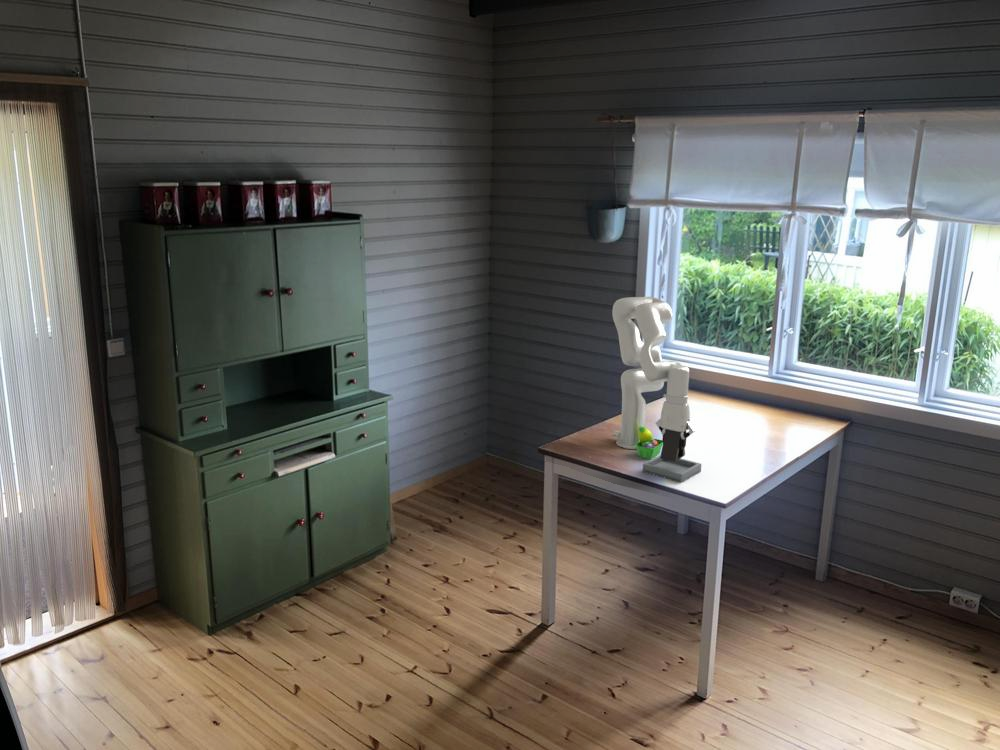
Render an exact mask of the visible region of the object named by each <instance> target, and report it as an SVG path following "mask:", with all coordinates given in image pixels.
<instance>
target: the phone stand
mask: <svg viewBox="0 0 1000 750" xmlns="http://www.w3.org/2000/svg"><path fill="white" fill-rule="evenodd" d="M680 439H681V432H676V431H672V430H668V429H665V436H664V441H663V444H662V447H661V450H660V455H661V456H660V455H659V456H660V458H661V459H666V460H670V461H675V462H676V461H677V460H679V459H680V458H681V459H683V457H685V456H686V450H685V448H683V449H679V447H680Z"/></svg>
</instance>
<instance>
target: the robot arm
mask: <svg viewBox="0 0 1000 750" xmlns="http://www.w3.org/2000/svg"><path fill="white" fill-rule="evenodd" d="M672 318H673V310H672V307H671V306H670V305H669V303H668V302H666V301H664V300H662V299H659V298H656V297H654V296H637V297H636V296H635V297H634V296H632V297H622V298H619V299H617V300H616V301H615V302H614V303H613V306H612V320H613V322H614V326H615V328H616V331H617V335H618V341H619V348H620V357H621V360H622V363H623V364H624V365H626V366H629V367H633V366H641V367H640V368H630V369H627V370H625V371H623V373H622V374H621V376H620V387H621V396H622V397H621V398H622V399H621V420H620V430H617V429H614V430H613V432H612V436H613V437H617V439H616V442H615V443H616V445H617V446H618V447H620V448H622V447H623V449H627V450H637V447H636V444H638V443H639V442H640V440H639V438H638V434H639V433H638V430H639V428H640V427H641V426H644V427H645V425H646V409H647V408H646V407H647V403H646V400H645V398H644V397H643V395H642V393H648V392H657V391H660V390H662V389H663V387H664V385H665V382H666V393H664V394H663V398H665V400H664V401H663V403H662V408H661V412H660V418H659V419H658V420H657V421H656V422H655V425H656V426H657V427H658V429H659V431H660V432H661V433H660V434H661V435H662V439H661V440H662V442H663V441H664V436H665V429H668V430H672V431H676V432H681V439H680V447H679V449H683V448H685V447H686V445H687V438H688V437H690V436H691V435H693V433H695V432H696V430H695V428H694V427H693V425H692V424H691V413H690V405H689V403H688V395H689V381H690V369H689V367H688V366H686V365H682V363H681V362H680V361H678V360H663V359H662V352H661V349H660V346H659V345H661V344H662V343H664V341H666V339H667V333H666V331H665V328H664V326H663V324H669V323H670V322H671V320H672ZM632 319H633V320H634V319H635V320H636V323H637V325H638V326H637V325H636V323H635V322H634V321H633V320H632ZM641 336H642V339H643V341H642V339H641ZM687 430H688V432H687Z"/></svg>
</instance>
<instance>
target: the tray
mask: <svg viewBox="0 0 1000 750" xmlns="http://www.w3.org/2000/svg"><path fill="white" fill-rule="evenodd" d="M660 456H661V454H660V455H658V456H655V457H653V458H652V459H649V461H646V462H644V463H643V464H642V472H643V471H644V472H643V473H646V472H647V473H646V474H649V473H651V474H650V475H653V474H655V475H654V476H656V475H658V476H657V477H660V476H661V478H663V477H665V478H664V479H667V480H670V479H671V480H670V481H674V482H678V483H683V482H685V481H687V480H688V479H690V478H692V477H693V476H695V475H698V474H699V473H701V472H702V463H700V462H697V461H692V460H689V459H685V458H680V459H679V460H677V461H676V462H675V461H670V460H666V459H661V458H660Z"/></svg>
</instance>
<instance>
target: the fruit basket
mask: <svg viewBox="0 0 1000 750" xmlns="http://www.w3.org/2000/svg"><path fill="white" fill-rule="evenodd" d="M638 433H639V434H638V438H639V440H640V442H639V443H638V444H636V447H637V449H636V450H637V454H638V457H639V456H640V457H639V458H642V457H644V458H643V459H647V458H649V459H648V460H652V459H654V458H656V457H657V455H659V454H661V451H662V446H663V442H662V439H658V438H653V433H652V432H651V431H650V430H649V429H648V428H647V427H644V426H641V427H640V428H639V430H638Z"/></svg>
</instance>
